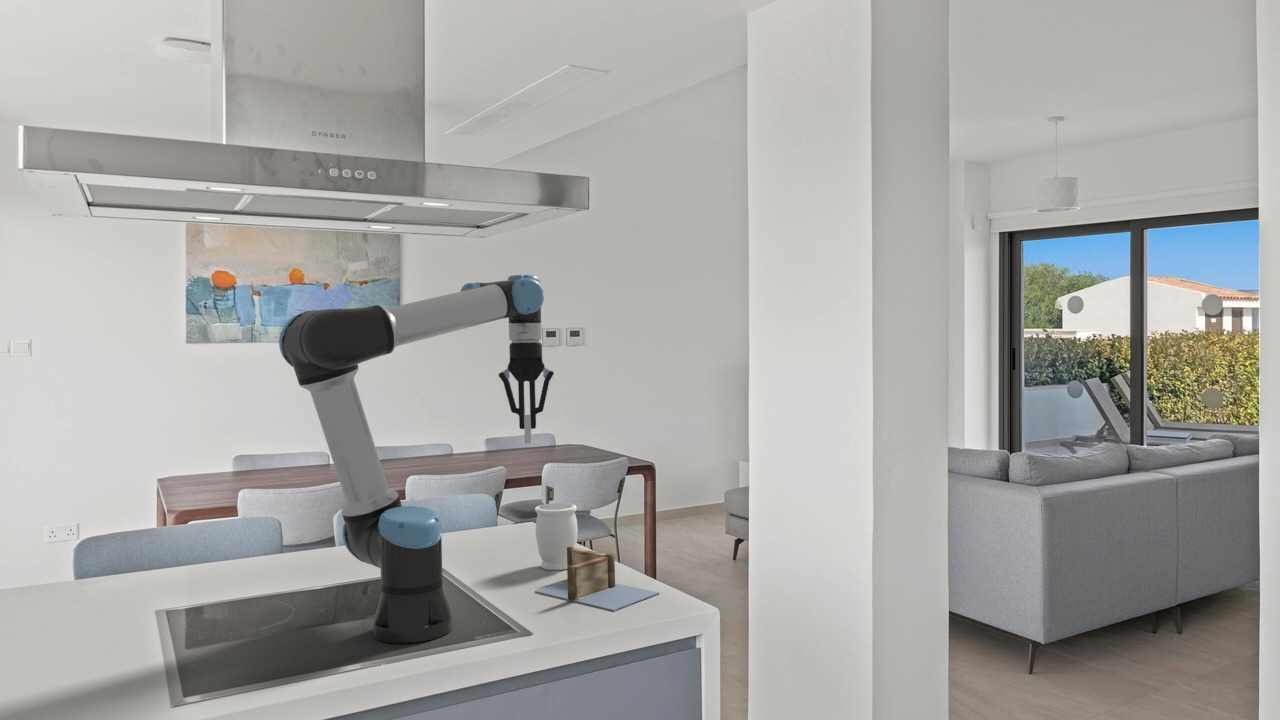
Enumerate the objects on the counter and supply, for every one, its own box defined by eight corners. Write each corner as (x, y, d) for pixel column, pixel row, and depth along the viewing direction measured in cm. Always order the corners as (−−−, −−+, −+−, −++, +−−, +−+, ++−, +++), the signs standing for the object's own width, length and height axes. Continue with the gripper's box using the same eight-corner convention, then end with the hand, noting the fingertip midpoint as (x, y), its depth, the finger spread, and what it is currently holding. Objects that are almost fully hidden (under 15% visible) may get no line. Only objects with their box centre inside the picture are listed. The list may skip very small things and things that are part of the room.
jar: (572, 572, 211) (571, 510, 210) (531, 571, 212) (529, 510, 212) (582, 561, 221) (581, 502, 221) (543, 560, 223) (541, 502, 222)
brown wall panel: (565, 579, 205) (564, 547, 204) (571, 577, 206) (570, 546, 206) (611, 589, 196) (610, 556, 195) (617, 587, 197) (616, 554, 197)
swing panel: (603, 586, 196) (602, 555, 196) (608, 587, 195) (608, 556, 195) (566, 598, 187) (565, 566, 187) (571, 600, 186) (570, 567, 186)
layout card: (535, 592, 195) (535, 590, 195) (581, 577, 206) (581, 575, 206) (614, 611, 180) (614, 609, 180) (659, 594, 191) (659, 592, 191)
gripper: (496, 342, 199) (498, 445, 199) (553, 341, 200) (556, 443, 200) (498, 342, 206) (501, 442, 207) (553, 341, 207) (556, 440, 208)
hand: (528, 442), depth 203 cm, fingers closed
